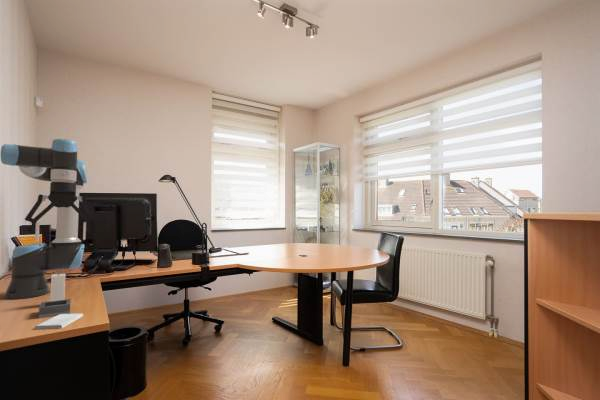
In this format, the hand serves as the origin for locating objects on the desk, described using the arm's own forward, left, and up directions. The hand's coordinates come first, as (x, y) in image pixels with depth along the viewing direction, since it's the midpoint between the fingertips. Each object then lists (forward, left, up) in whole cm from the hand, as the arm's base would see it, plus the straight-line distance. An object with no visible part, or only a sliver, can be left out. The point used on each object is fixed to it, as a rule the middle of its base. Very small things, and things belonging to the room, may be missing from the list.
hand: (61, 240), depth 113 cm
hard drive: (+5, +1, -29) cm, 29 cm away
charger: (-23, -1, -28) cm, 36 cm away
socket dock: (-9, -1, -28) cm, 29 cm away
